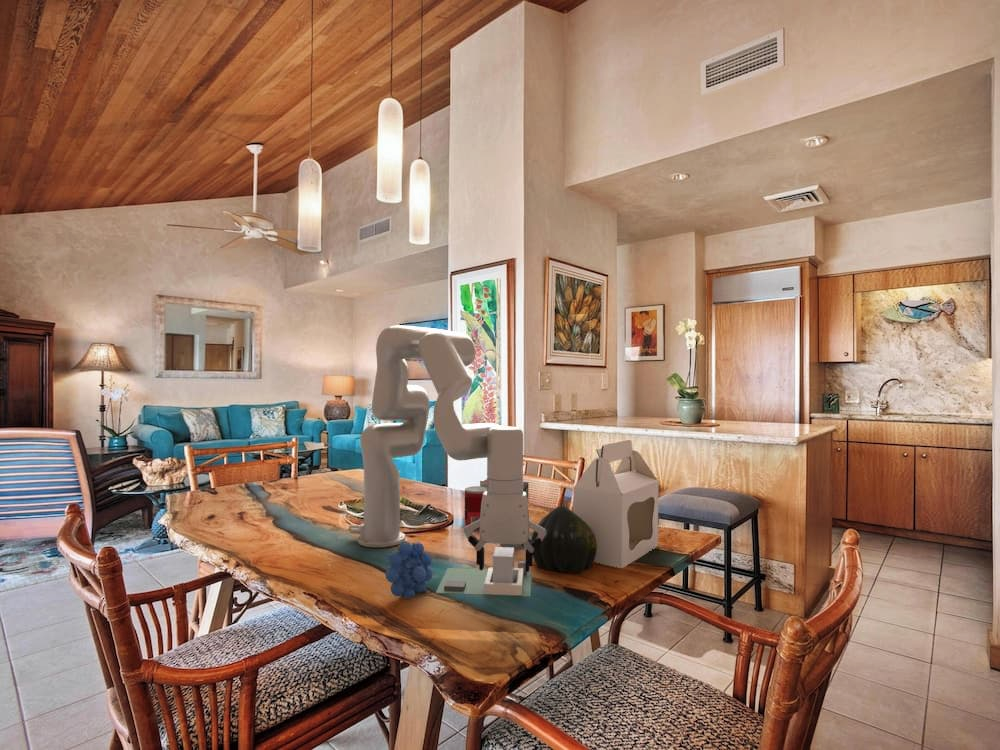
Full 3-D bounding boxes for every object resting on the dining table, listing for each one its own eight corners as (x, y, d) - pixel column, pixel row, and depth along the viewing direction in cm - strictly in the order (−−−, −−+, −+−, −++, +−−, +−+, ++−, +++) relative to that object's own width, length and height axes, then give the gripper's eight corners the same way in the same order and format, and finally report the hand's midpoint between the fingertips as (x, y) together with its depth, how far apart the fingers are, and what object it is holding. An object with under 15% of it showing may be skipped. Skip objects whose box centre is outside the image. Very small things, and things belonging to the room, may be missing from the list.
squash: (565, 564, 112) (589, 502, 120) (510, 551, 122) (535, 495, 130) (593, 594, 120) (614, 534, 128) (539, 580, 130) (561, 525, 138)
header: (484, 594, 107) (484, 584, 107) (488, 576, 117) (488, 567, 117) (521, 595, 107) (521, 585, 107) (523, 577, 116) (523, 568, 116)
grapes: (401, 616, 100) (401, 551, 100) (378, 606, 104) (378, 544, 104) (446, 597, 109) (446, 537, 109) (423, 588, 113) (423, 531, 113)
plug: (492, 590, 109) (492, 556, 109) (495, 577, 116) (496, 544, 116) (512, 591, 109) (512, 556, 109) (514, 577, 116) (514, 545, 116)
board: (435, 598, 108) (435, 580, 108) (447, 573, 122) (447, 556, 122) (530, 602, 106) (530, 583, 106) (531, 576, 120) (531, 559, 120)
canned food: (495, 526, 161) (496, 489, 161) (473, 530, 156) (473, 492, 156) (482, 520, 167) (482, 485, 167) (459, 524, 162) (460, 487, 162)
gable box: (613, 537, 151) (613, 437, 151) (658, 546, 142) (659, 440, 142) (572, 557, 133) (572, 444, 133) (621, 569, 125) (621, 449, 125)
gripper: (461, 489, 109) (460, 574, 109) (546, 490, 107) (546, 577, 107) (466, 481, 116) (465, 561, 116) (546, 483, 115) (546, 564, 115)
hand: (504, 568), depth 112 cm, fingers open, 9 cm apart
